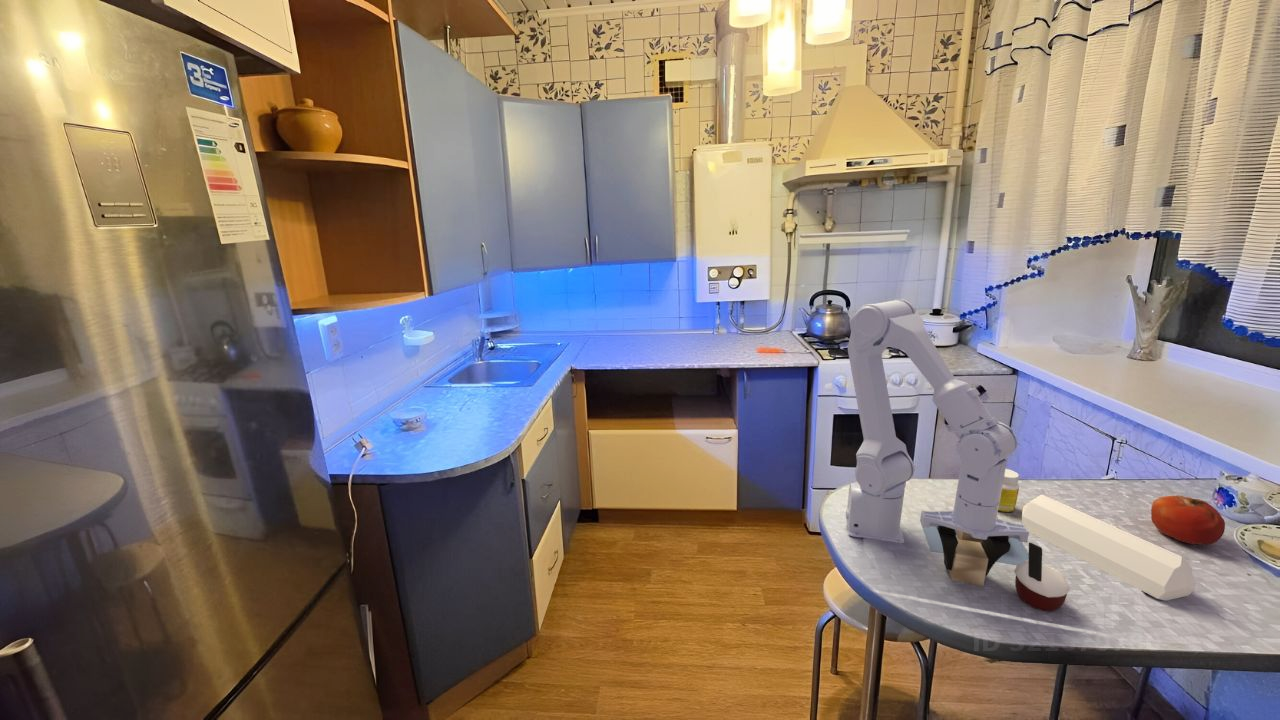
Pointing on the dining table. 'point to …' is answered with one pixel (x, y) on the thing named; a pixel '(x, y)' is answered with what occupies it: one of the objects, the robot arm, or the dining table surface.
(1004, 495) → the supplement bottle
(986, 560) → the maple block
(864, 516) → the robot arm
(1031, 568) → the cocoa
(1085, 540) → the crystal
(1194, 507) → the tomato
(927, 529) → the board
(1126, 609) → the dining table surface
